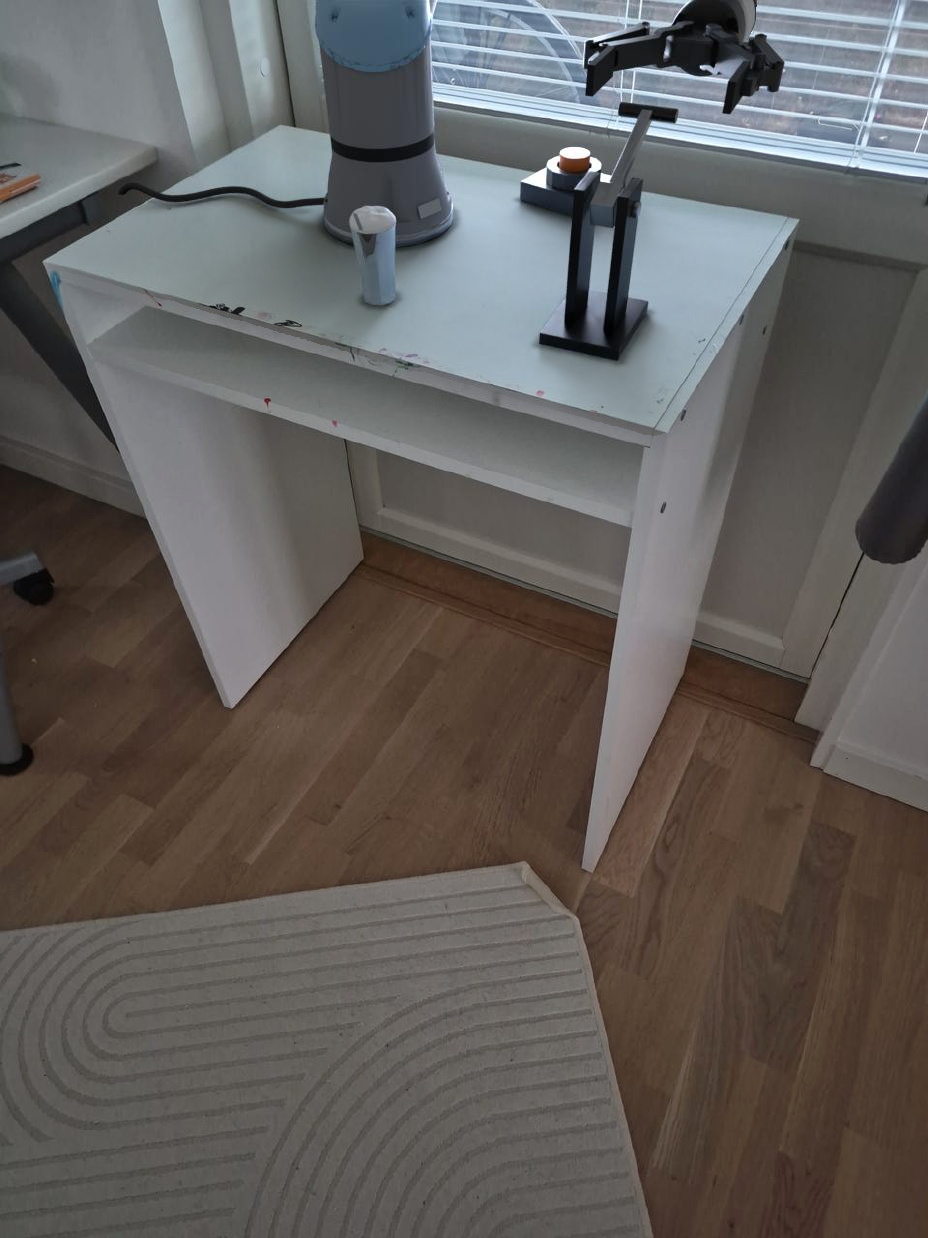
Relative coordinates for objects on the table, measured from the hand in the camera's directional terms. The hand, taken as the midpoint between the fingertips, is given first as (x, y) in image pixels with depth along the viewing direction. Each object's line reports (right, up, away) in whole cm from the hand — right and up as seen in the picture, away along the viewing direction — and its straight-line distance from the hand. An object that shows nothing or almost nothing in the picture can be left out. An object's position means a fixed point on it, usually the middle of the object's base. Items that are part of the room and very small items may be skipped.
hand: (657, 89), depth 84 cm
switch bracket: (-6, -21, +4) cm, 22 cm away
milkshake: (-27, -17, +8) cm, 34 cm away
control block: (-5, +1, +24) cm, 25 cm away
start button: (-5, +4, +22) cm, 23 cm away
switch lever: (-3, -9, -2) cm, 10 cm away
